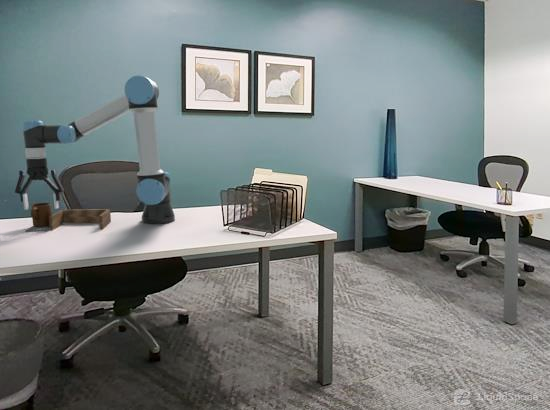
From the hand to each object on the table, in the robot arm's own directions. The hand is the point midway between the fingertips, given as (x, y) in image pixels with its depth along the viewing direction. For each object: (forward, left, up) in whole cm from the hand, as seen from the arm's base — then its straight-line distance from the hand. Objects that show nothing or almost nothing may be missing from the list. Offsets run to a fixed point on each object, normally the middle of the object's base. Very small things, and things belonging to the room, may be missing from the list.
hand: (41, 208), depth 186 cm
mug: (+1, 0, -8) cm, 8 cm away
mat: (0, 0, -8) cm, 8 cm away
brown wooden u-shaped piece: (-15, -2, -8) cm, 17 cm away
